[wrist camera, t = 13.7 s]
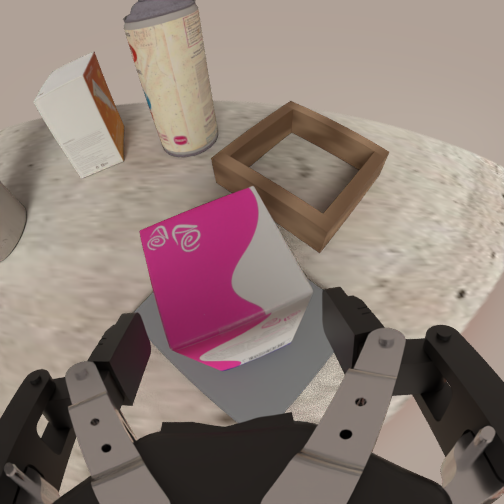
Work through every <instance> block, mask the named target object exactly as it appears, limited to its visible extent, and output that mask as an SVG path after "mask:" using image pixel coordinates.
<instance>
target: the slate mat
mask: <svg viewBox="0 0 504 504" xmlns="http://www.w3.org/2000/svg"><path fill="white" fill-rule="evenodd" d="M307 280H308V282H309V283H310V285H311V287H312V289H313V294H312V296H311V298H310V301H309V303H308V305H307V307H306V310H305V312H304V315H303V317H302V319H301V321H300V324H299V326H298V328H297V331H296V333H295V335H294V337H293V339H292V342H291V344H289V345H286V346H284V347H282V348H280V349H278V350H276V351H274V352H271V353H269V354H267V355H265V356H262V357H260V358H257V359H255V360H253V361H250V362H248V363H245V364H243V365H240V366H237V367H235V368H232V369H229V370H226V371H220V370H218V369H215V368H213V367H211V366H208V365H205V364H203V363H200V362H198V361H196V360H194V359H191V358H189V357H187V356H184V355H182V354H179V353H177V352H175V351H172V350H171V349H170V348H169V344H168V341H167V338H166V335H165V331H164V328H163V324H162V321H161V318H160V314H159V311H158V307H157V303H156V300H155V296H154V292H153V293H152V294H151V295H150V296H149V297H148V298H147V299H146V300H145V301H144V302H143V303H142V304H141V305H140V306H139V307H138V308H137V310H136V311H135V312H134V313H136V312H138V313H139V314H140V315H141V318H142V320H143V323H144V326H145V329H146V332H147V335H148V338H149V340H150V341H151V342H152V343H153V344H154V345H155V346H156V347H157V348H158V349H159V350H160V352H161V353H162V354H163V355H164V356H165V357H166V358H167V359H168V360H169V361H170V362H171V363H172V364H173V365H174V366H175V367H176V368H177V369H178V370H179V371H180V372H181V373H182V374H183V375H184V376H185V377H186V378H188V379H189V380H190V381H191V382H192V383H193V384H194V385H195V386H196V387H197V388H198V389H199V390H200V391H201V392H203V393H204V394H205V395H206V396H207V397H208V398H209V399H210V400H211V401H213V402H214V403H215V404H216V405H217V406H218V407H220V408H221V409H222V410H223V411H224V412H225V413H227V414H228V415H229V416H230V417H231V418H233V419H234V420H235V421H236V422H238V423H241V422H245V421H248V420H251V419H254V418H257V417H263V416H270V415H277V414H283V413H284V412H285V411H286V410H287V409H288V408H289V407H290V406H291V404H292V403H293V402H294V401H295V400H296V399H297V397H298V396H299V395H300V394H301V393H302V392H303V390H304V389H305V388H306V387H307V386H308V384H309V383H310V382H311V381H312V379H313V378H314V377H315V376H316V374H317V373H318V372H319V371H320V369H321V368H322V367H323V366H324V364H325V363H326V362H327V360H328V359H329V358H330V356H331V355H332V354H333V352H334V351H333V349H332V347H331V345H330V343H329V341H328V339H327V337H326V335H325V333H324V329H323V323H322V292H323V290H322V289H321V288H320V287H318V286H317V285H315V284H314V283H313V282H311V281H310V280H309V279H307Z"/></svg>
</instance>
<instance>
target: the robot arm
mask: <svg viewBox="0 0 504 504" xmlns="http://www.w3.org/2000/svg"><path fill="white" fill-rule="evenodd" d="M25 221H26V210H25V208H24V206H23V205H22V204H21V203H20V202H19V201H18V200H17V199H16V198H15V197H14V196H13V195H12V194H11V193H10V191H9V190H8V189H7V188H6V187H5V186H4V185H3V184H2V182H1V181H0V261H2V260H4V259H5V258H6V257H7V256H8V255H9V254H10V253H11V251H12V250H13V249H14V247H15V246H16V244H17V242H18V241H19V239H20V236H21V234H22V232H23V229H24V226H25ZM322 323H323V329H324V333H325V335H326V337H327V339H328V341H329V343H330V345H331V347H332V349H333V351H334V353H335V355H336V357H337V360H338V362H339V364H340V366H341V368H342V370H343V372H344V374H345V376H344V378H343V380H342V382H341V384H340V386H339V388H338V390H337V392H336V394H335V396H334V397H333V399H332V401H331V403H330V405H329V407H328V408H327V410H326V412H325V414H324V415H323V417H322V419H321V420H320V422H319V424H318V425H317V424H314V423H309V422H302V421H294V420H293V416H292V412H290V413H284V414H277V415H270V416H263V417H257V418H254V419H251V420H248V421H245V422H241V423H238V424H234V425H231V426H227V427H221V426H214V425H207V424H201V423H195V422H162V427H161V431H159V432H155V433H152V434H149V435H146V436H144V437H142V438H140V439H137V438H136V436H135V434H134V433H133V431H132V429H131V428H130V426H129V424H128V422H127V421H126V419H125V417H124V415H123V413H122V412H121V410H120V408H121V406H122V405H127V406H132V405H133V402H134V399H135V396H136V393H137V391H138V388H139V385H140V382H141V379H142V376H143V373H144V371H145V368H146V365H147V362H148V360H149V357H150V354H151V345H150V341H149V338H148V335H147V332H146V329H145V326H144V323H143V320H142V318H141V315H140V314H139V313H138V312H136V313H124V314H122V315H121V316H120V318H119V319H118V321H117V323H116V324H115V325H113V326H112V327H110V328H109V329H108V330H107V331H106V332H105V333H104V335H103V336H102V339H101V340H100V341H99V343H98V345H97V346H96V348H95V349H94V351H93V352H92V354H91V356H90V357H89V359H88V361H84V362H79V363H77V364H75V365H73V366H72V367H70V368H69V369H68V371H67V372H66V375H65V377H63V378H57V379H52V377H51V376H50V374H49V372H48V371H47V370H43V369H40V370H36V371H34V372H32V373H30V374H29V375H28V376H27V377H26V378H25V379H24V381H23V383H22V384H21V386H20V387H19V389H18V390H17V392H16V393H15V395H14V397H13V398H12V400H11V401H10V403H9V405H8V406H7V408H6V410H5V412H4V413H3V415H2V417H1V418H0V504H492V503H493V502H494V501H495V500H497V499H498V498H499V497H500V496H502V495H503V494H504V382H503V381H502V380H501V378H500V377H499V376H498V375H497V374H496V373H495V371H494V370H493V369H492V368H491V367H490V366H489V365H488V364H487V362H486V361H485V360H484V359H483V358H482V357H481V356H480V355H479V354H478V352H476V350H475V349H474V348H473V347H472V346H471V345H470V344H469V343H468V342H467V341H466V340H465V338H464V337H463V336H462V335H461V334H460V333H459V332H458V331H457V330H456V329H454V328H452V327H450V326H446V325H436V326H432V327H431V328H429V329H428V330H427V332H426V336H425V338H423V339H405V336H404V335H403V334H402V333H401V332H400V331H398V330H395V329H392V328H385V327H384V326H383V325H382V323H381V322H380V321H379V320H378V319H377V317H376V316H375V315H374V314H373V313H372V312H371V310H370V309H369V308H367V305H366V304H365V303H364V302H363V301H362V300H361V299H359V298H357V297H355V296H347V295H346V293H345V292H344V291H343V289H342V288H341V287H335V288H329V289H324V290H323V292H322ZM447 382H448V383H447ZM449 385H450V386H449ZM410 394H412V395H413V397H414V398H415V400H416V402H417V404H418V406H419V407H420V409H421V411H422V413H423V415H424V417H425V418H426V420H427V422H428V424H429V425H430V428H431V430H432V432H433V433H434V435H435V437H436V439H437V441H438V443H439V445H440V447H441V449H442V451H443V453H444V455H445V457H446V458H445V459H444V461H443V462H442V465H441V469H440V472H441V477H442V486H441V485H439V484H438V483H436V482H434V481H432V480H430V479H427V478H425V477H423V476H420V475H418V474H416V473H413V472H411V471H409V470H407V469H404V468H402V467H400V466H398V465H396V464H394V463H392V462H390V461H388V460H386V459H384V458H382V457H380V456H377V455H375V454H374V453H372V451H373V449H374V446H375V444H376V441H377V438H378V436H379V433H380V430H381V428H382V425H383V422H384V419H385V416H386V413H387V410H388V407H389V404H390V401H391V398H392V396H397V395H410ZM42 414H43V415H44V416H45V418H46V419H47V420H48V421H49V422H48V424H47V426H46V428H45V431H44V433H43V435H42V438H40V437H39V435H38V433H37V428H36V427H37V423H38V421H39V419H40V417H41V415H42ZM76 437H77V440H78V443H79V446H80V448H81V451H82V454H83V457H84V459H85V462H86V464H87V467H88V469H89V472H90V474H91V476H89V477H88V478H87V479H85V480H84V481H83V482H81V483H80V484H78V485H77V486H76V487H74V488H73V489H71V490H70V491H69V492H67V493H66V494H64V495H63V496H61V497H60V495H59V490H60V486H61V483H62V479H63V476H64V473H65V469H66V466H67V463H68V460H69V457H70V454H71V451H72V448H73V445H74V442H75V439H76Z"/></svg>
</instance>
